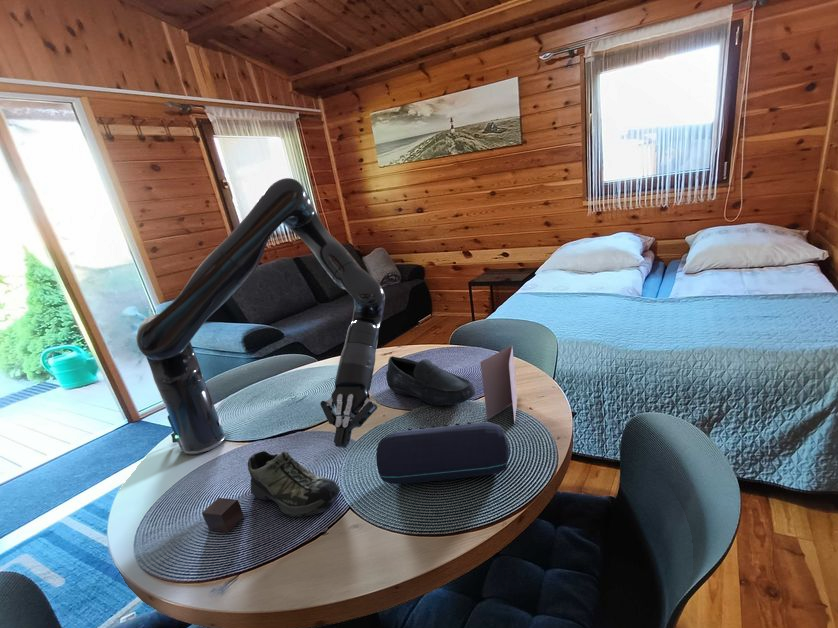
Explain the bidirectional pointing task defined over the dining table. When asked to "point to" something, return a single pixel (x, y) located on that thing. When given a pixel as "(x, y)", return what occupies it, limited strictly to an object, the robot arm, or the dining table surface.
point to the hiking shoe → (290, 484)
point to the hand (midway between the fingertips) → (340, 446)
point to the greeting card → (499, 382)
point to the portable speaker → (442, 453)
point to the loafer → (427, 382)
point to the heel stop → (223, 514)
